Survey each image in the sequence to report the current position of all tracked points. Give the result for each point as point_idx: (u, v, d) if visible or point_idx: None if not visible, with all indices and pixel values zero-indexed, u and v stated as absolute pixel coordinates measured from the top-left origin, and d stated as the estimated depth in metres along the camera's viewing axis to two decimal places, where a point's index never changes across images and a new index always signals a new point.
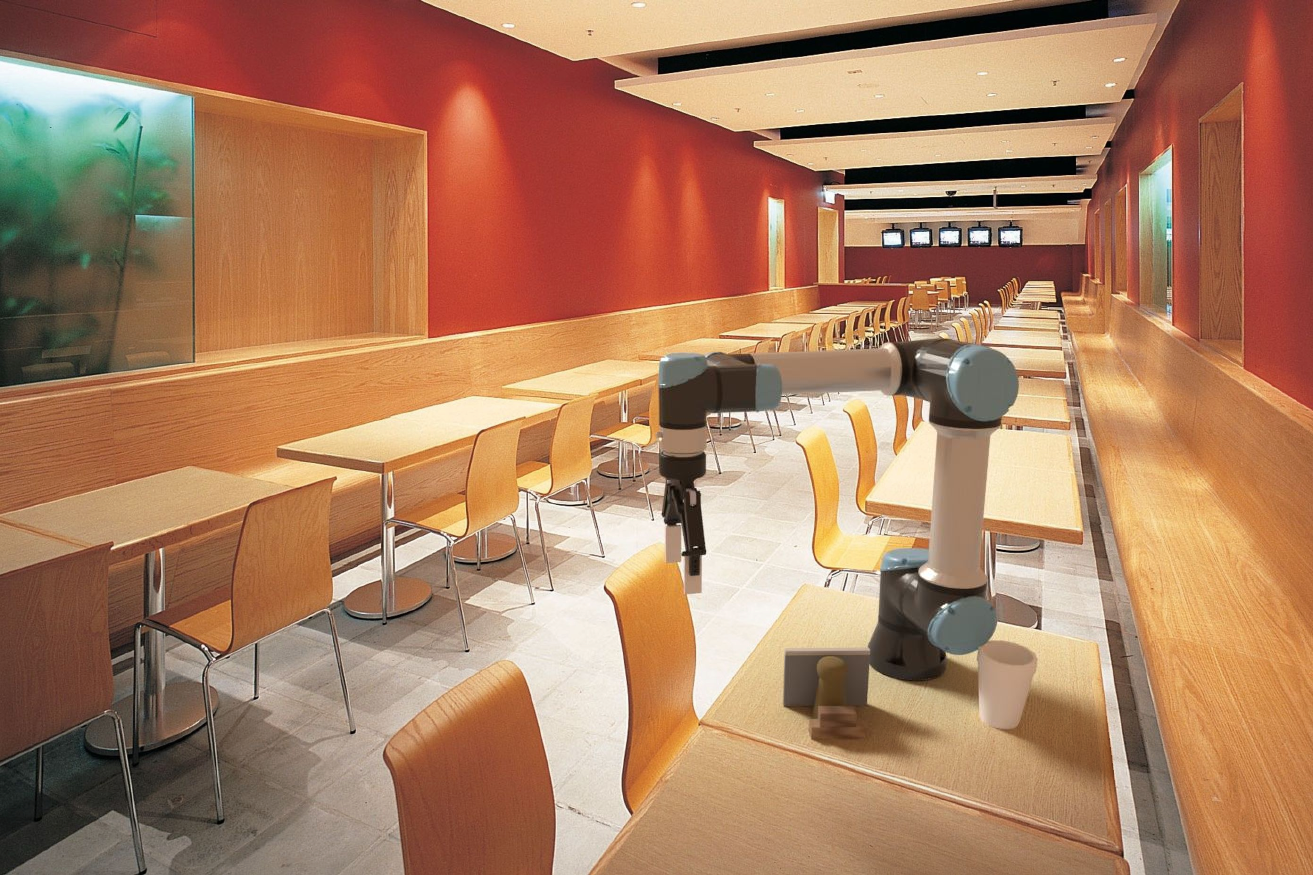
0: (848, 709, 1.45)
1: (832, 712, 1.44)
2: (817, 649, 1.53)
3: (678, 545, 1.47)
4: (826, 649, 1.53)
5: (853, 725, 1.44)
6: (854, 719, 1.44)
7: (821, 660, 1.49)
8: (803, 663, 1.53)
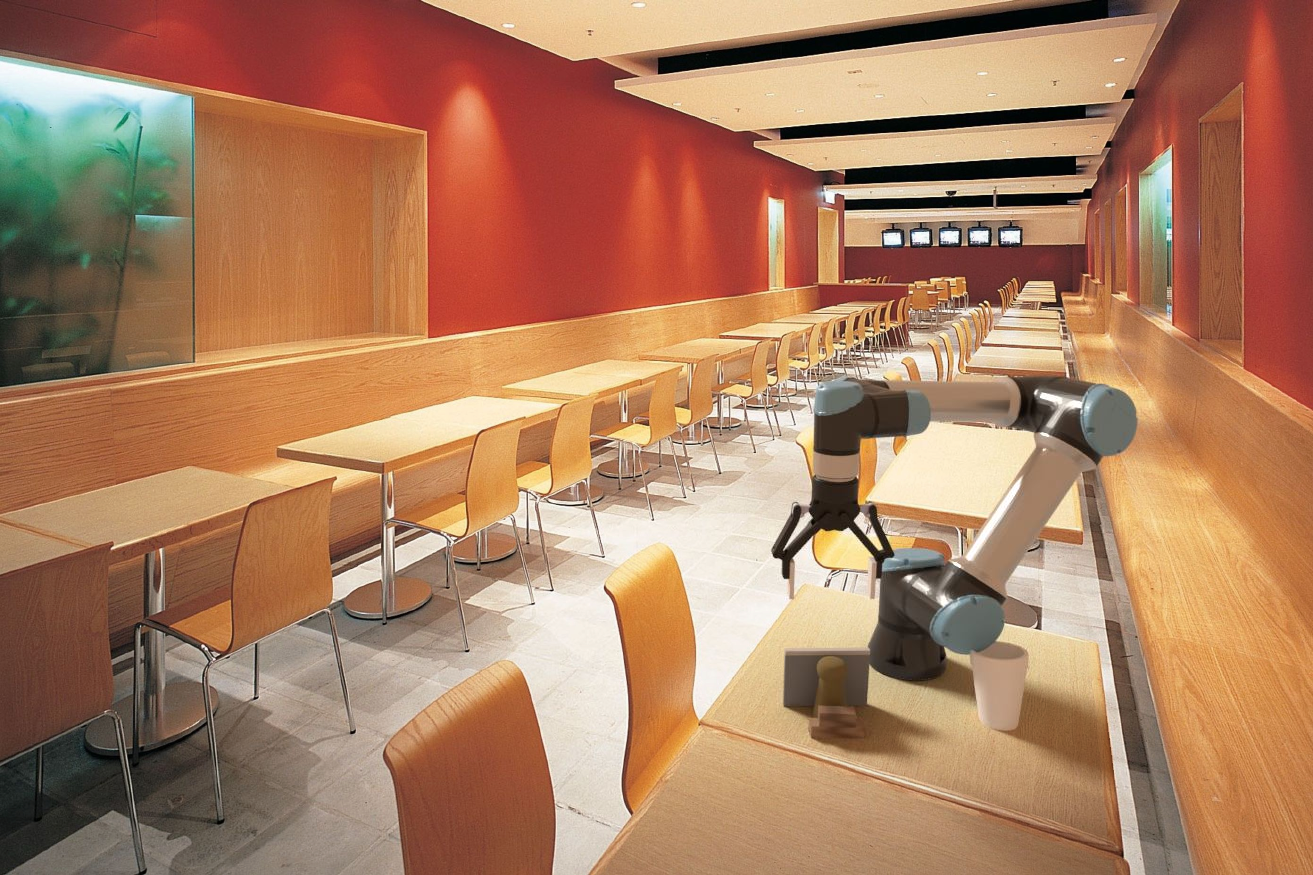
0: (848, 709, 1.45)
1: (831, 712, 1.44)
2: (817, 649, 1.53)
3: (870, 581, 1.45)
4: (826, 649, 1.53)
5: (853, 725, 1.44)
6: (854, 719, 1.44)
7: (821, 660, 1.49)
8: (803, 663, 1.53)
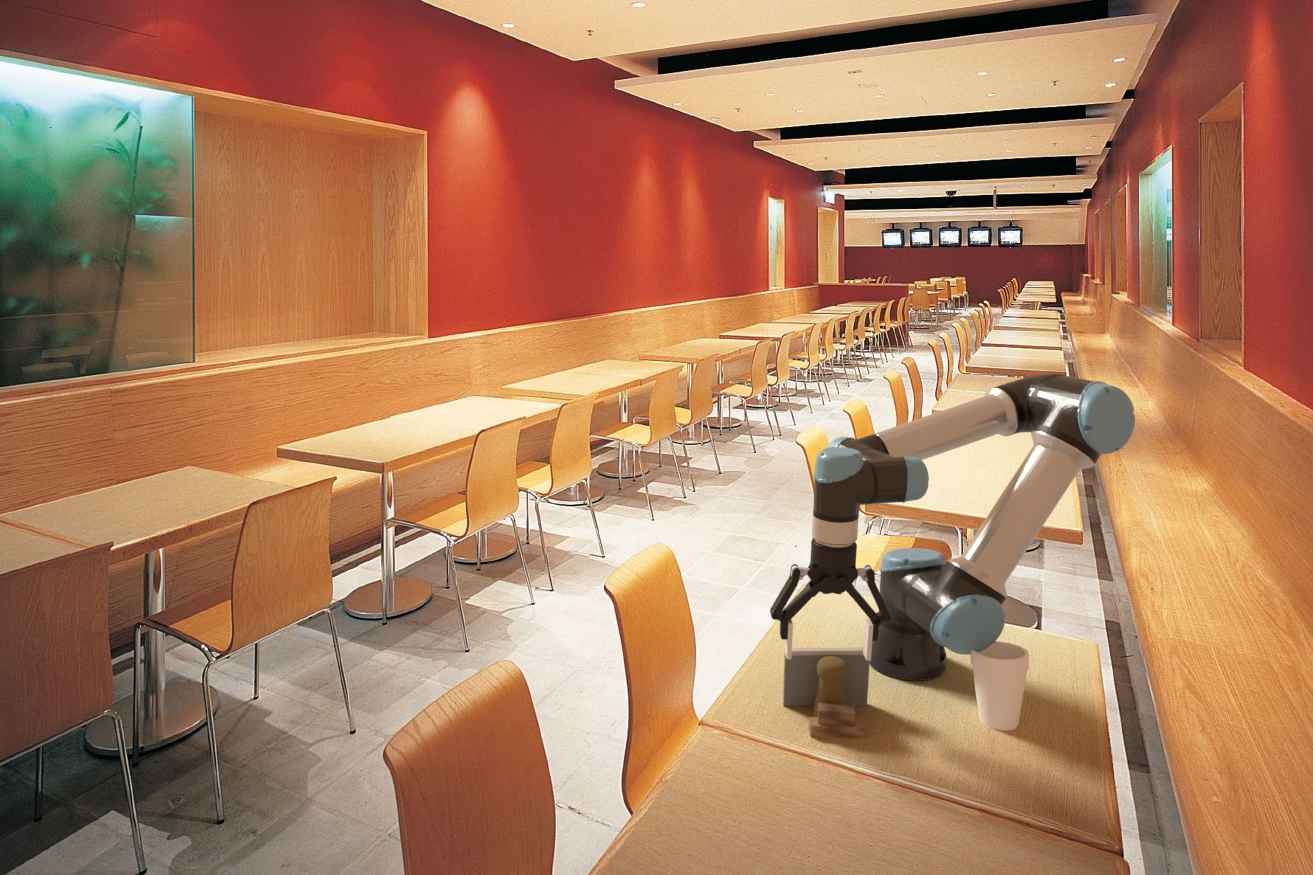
0: (848, 708, 1.45)
1: (831, 710, 1.45)
2: (817, 649, 1.53)
3: (866, 642, 1.48)
4: (826, 649, 1.53)
5: (852, 724, 1.44)
6: (853, 718, 1.44)
7: (821, 660, 1.49)
8: (803, 663, 1.53)
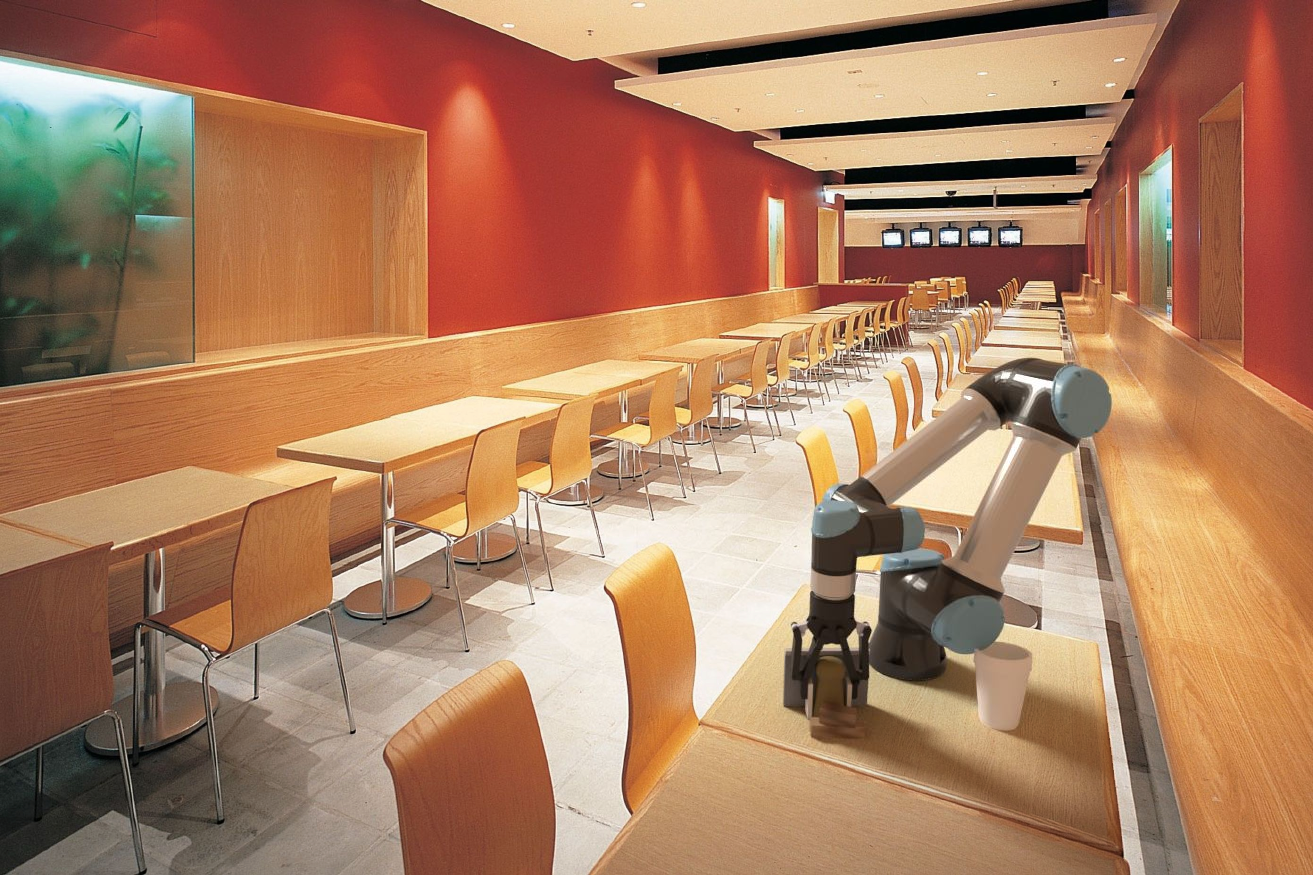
0: (849, 709, 1.45)
1: (832, 710, 1.45)
2: None
3: (846, 701, 1.50)
4: (826, 649, 1.53)
5: (852, 725, 1.44)
6: (853, 720, 1.44)
7: (819, 660, 1.49)
8: (803, 663, 1.53)
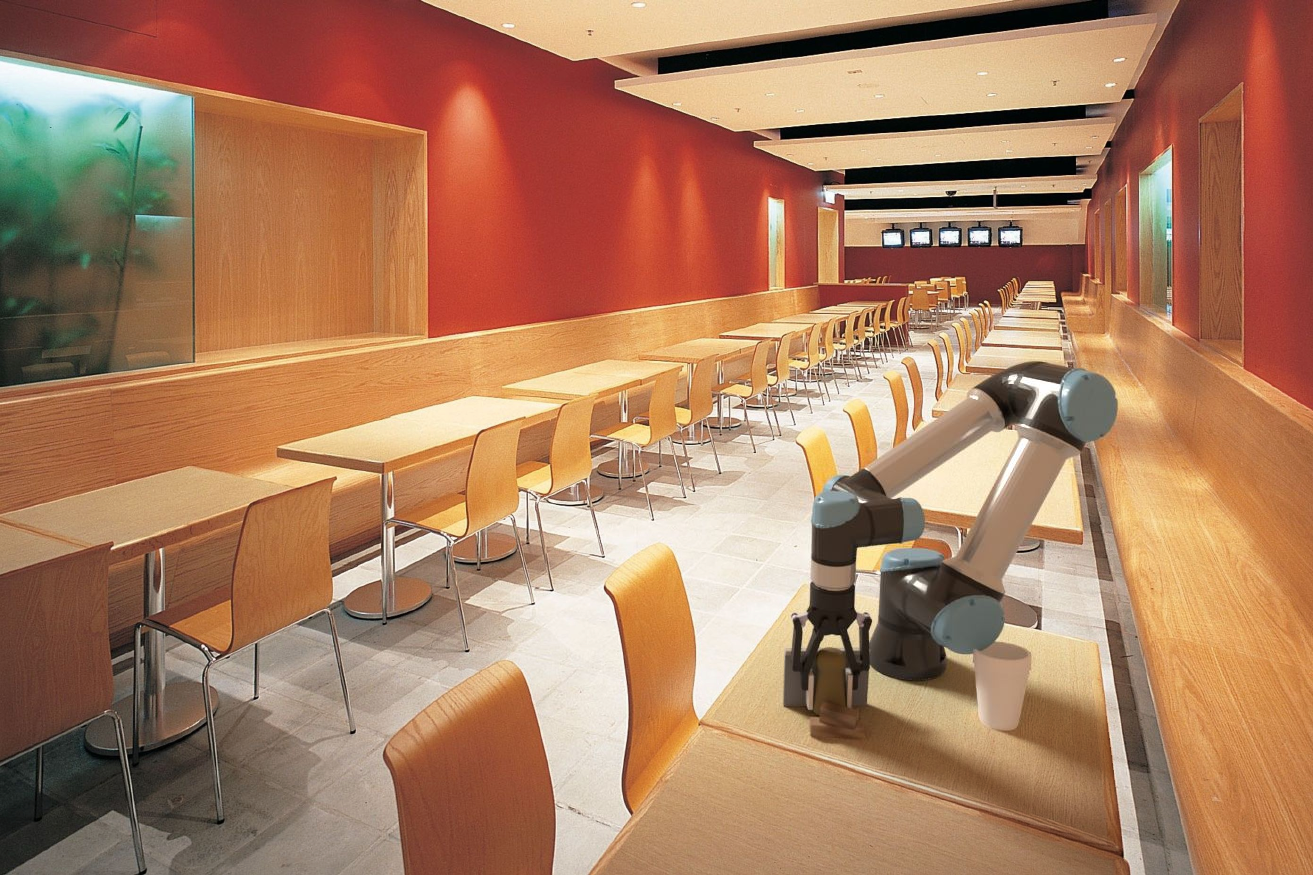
0: (850, 711, 1.45)
1: (832, 710, 1.45)
2: None
3: (846, 692, 1.50)
4: None
5: (852, 727, 1.44)
6: (853, 722, 1.43)
7: (820, 651, 1.49)
8: None
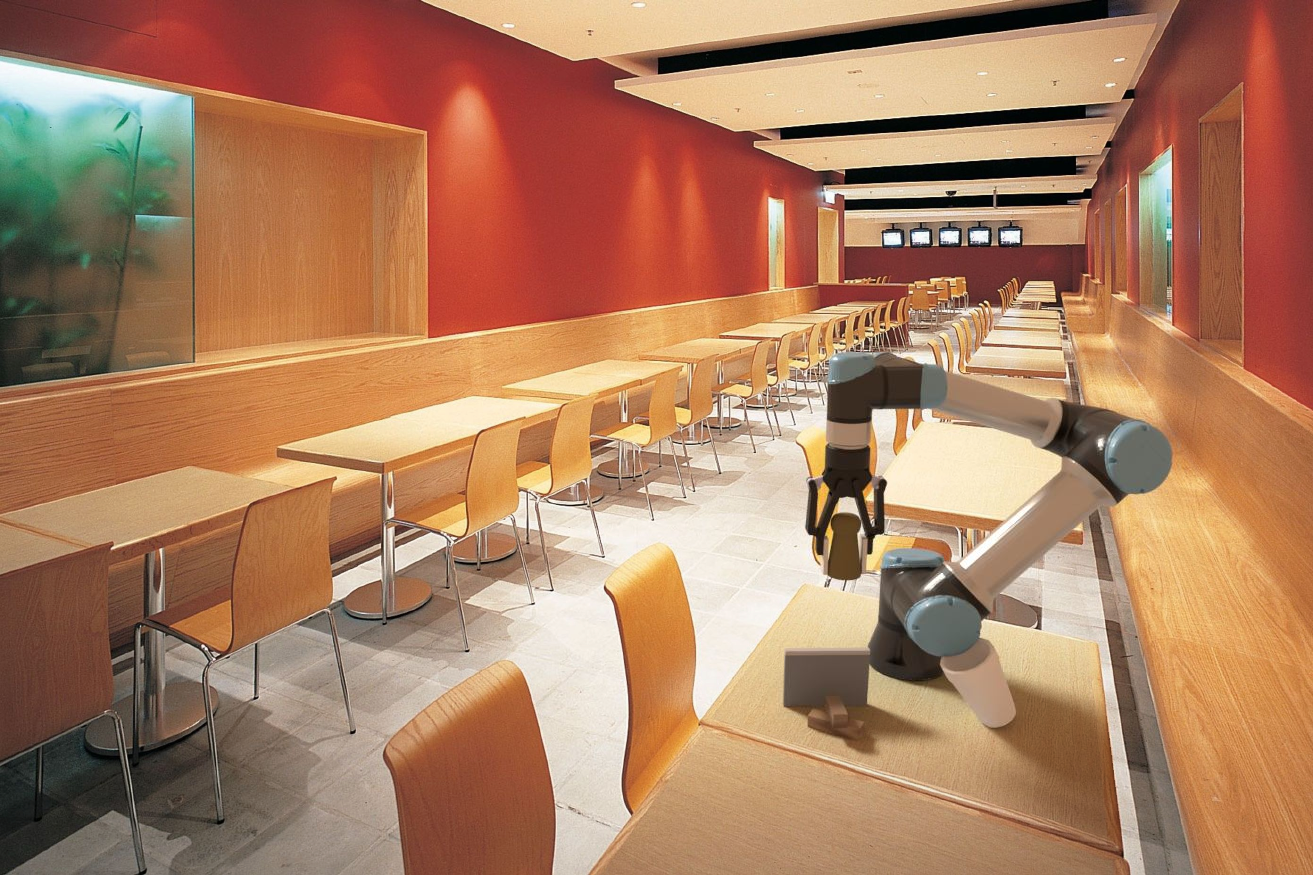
0: (840, 710, 1.45)
1: (830, 702, 1.48)
2: (817, 649, 1.53)
3: (861, 556, 1.50)
4: (826, 649, 1.53)
5: (832, 724, 1.45)
6: (832, 719, 1.44)
7: (835, 515, 1.49)
8: (803, 663, 1.53)
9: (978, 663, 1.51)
